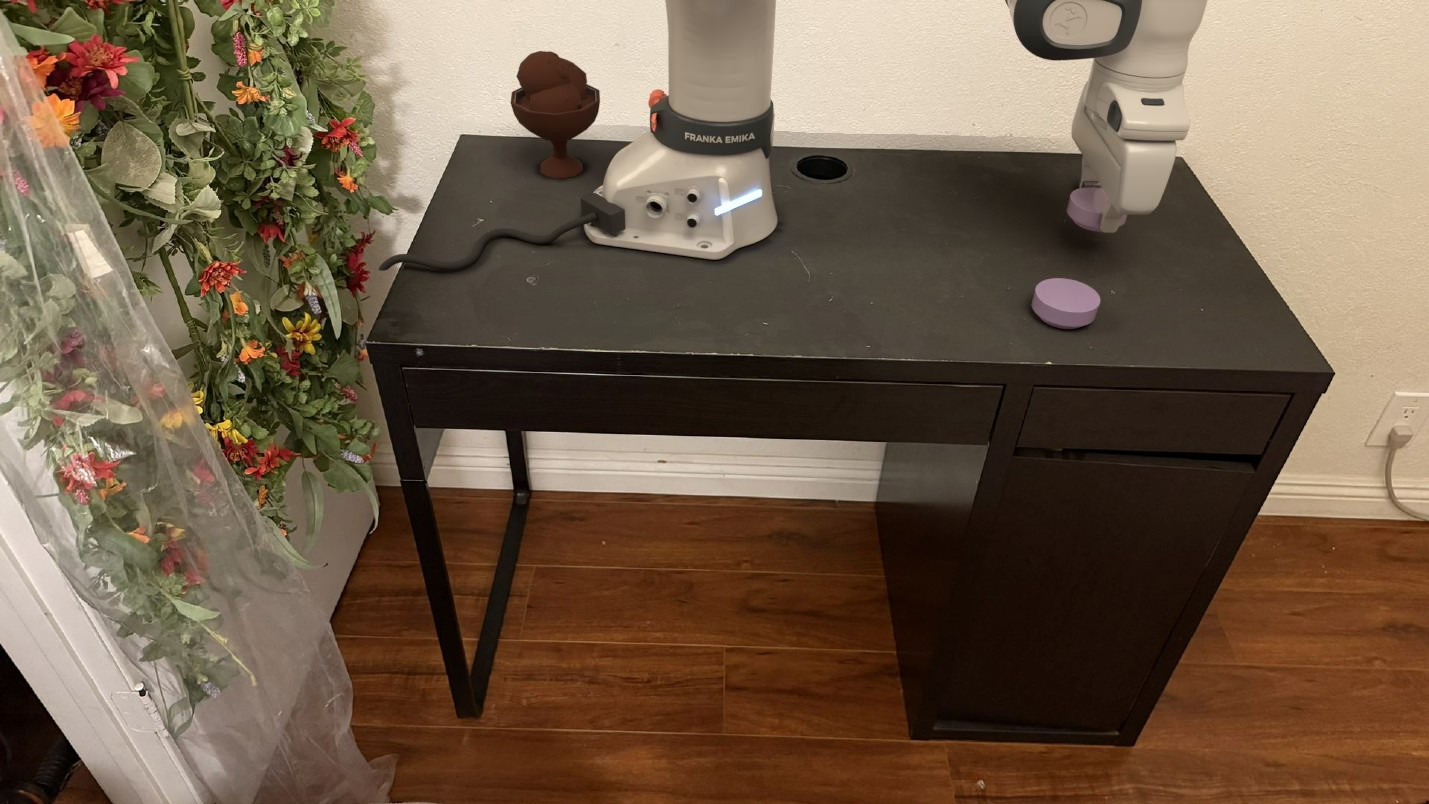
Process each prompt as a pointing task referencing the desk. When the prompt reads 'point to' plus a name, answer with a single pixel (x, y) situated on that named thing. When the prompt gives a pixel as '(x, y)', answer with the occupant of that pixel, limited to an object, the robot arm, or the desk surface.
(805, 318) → the desk surface
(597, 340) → the desk surface
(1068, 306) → the dish front
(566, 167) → the ice cream bowl
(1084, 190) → the dish top
